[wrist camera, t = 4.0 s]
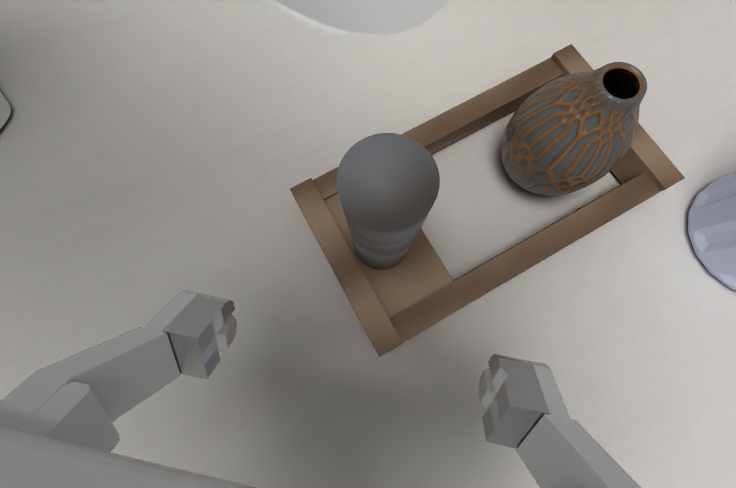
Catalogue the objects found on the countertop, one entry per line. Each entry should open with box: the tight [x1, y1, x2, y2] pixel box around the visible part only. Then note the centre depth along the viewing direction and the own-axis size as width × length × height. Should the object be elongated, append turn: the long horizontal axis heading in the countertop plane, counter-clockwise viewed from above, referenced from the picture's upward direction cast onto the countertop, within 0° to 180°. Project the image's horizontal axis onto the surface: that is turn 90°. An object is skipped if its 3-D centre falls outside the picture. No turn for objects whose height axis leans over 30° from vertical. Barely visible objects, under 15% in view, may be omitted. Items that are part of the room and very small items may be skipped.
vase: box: [501, 62, 647, 195], centre depth 20 cm, size 7×7×9 cm
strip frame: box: [290, 44, 685, 357], centre depth 17 cm, size 12×23×12 cm, turn 119°
